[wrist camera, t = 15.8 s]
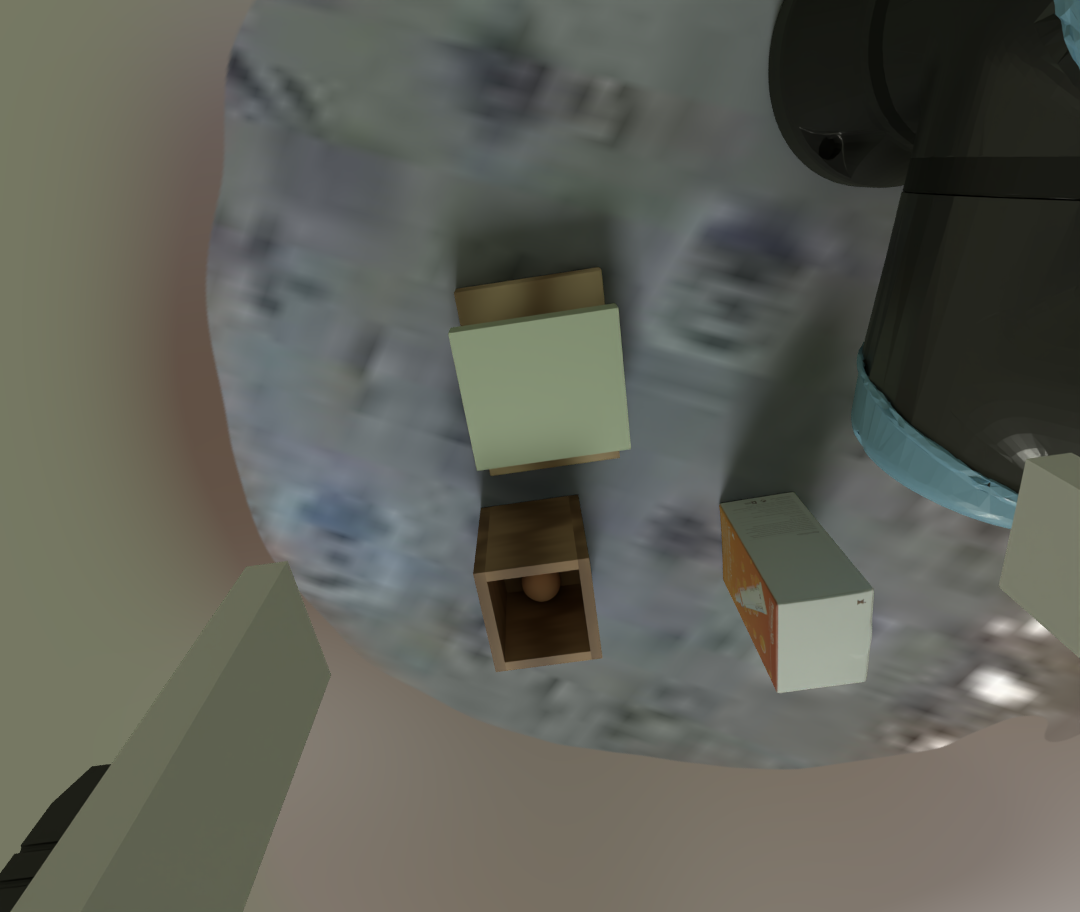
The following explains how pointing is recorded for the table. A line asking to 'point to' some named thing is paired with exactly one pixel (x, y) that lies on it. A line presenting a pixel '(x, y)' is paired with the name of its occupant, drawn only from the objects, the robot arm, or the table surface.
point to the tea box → (525, 550)
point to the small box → (796, 593)
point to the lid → (543, 386)
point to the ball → (541, 586)
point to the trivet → (529, 301)
